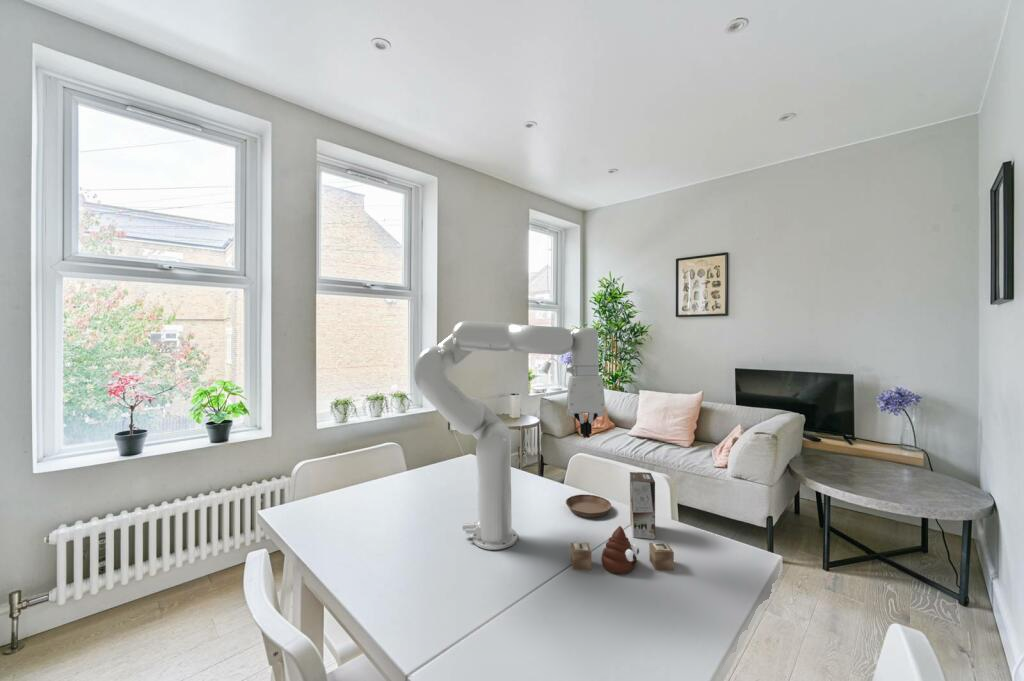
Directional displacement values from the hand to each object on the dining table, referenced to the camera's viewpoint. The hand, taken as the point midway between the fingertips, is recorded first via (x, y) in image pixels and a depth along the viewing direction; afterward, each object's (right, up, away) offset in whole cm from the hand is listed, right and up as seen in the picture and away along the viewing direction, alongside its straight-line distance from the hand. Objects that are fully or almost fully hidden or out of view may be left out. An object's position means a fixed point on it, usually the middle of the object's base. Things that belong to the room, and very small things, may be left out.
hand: (585, 436), depth 117 cm
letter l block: (+16, -29, -13) cm, 36 cm away
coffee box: (+17, -29, +5) cm, 34 cm away
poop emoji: (+6, -29, -13) cm, 33 cm away
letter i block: (-4, -29, -13) cm, 32 cm away
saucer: (+4, -30, +20) cm, 36 cm away
